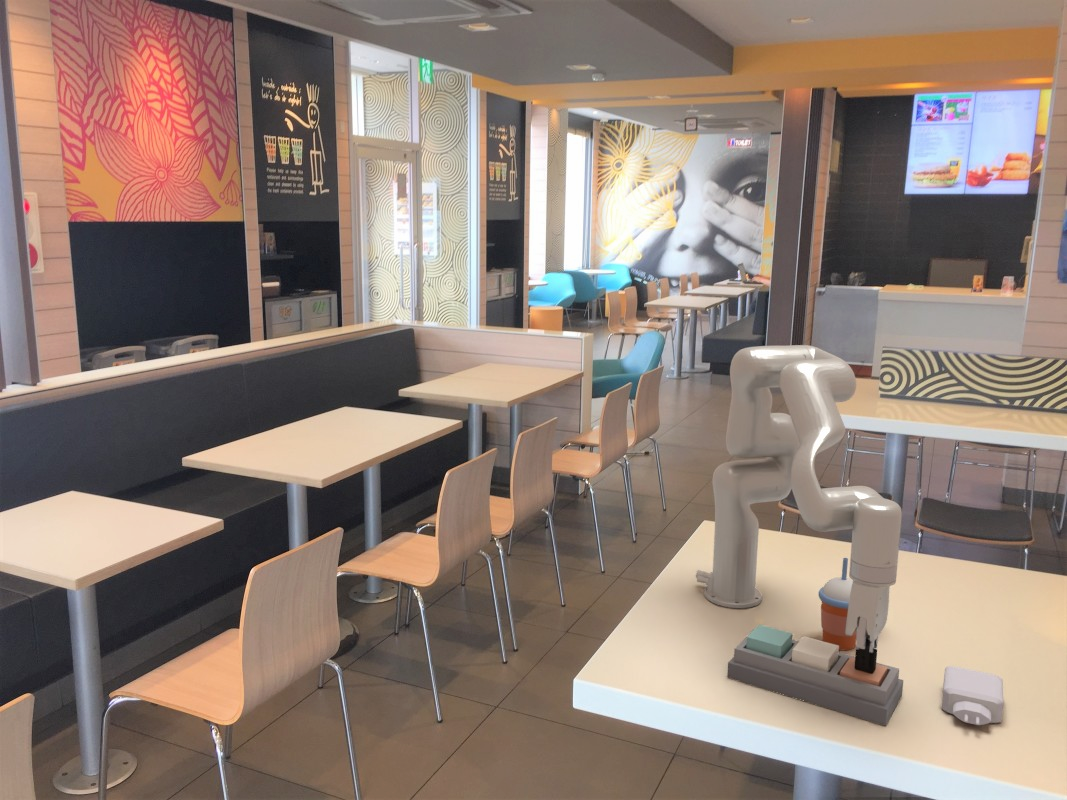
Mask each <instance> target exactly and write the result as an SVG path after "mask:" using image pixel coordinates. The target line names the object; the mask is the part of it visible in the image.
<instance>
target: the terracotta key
mask: <svg viewBox="0 0 1067 800" xmlns="http://www.w3.org/2000/svg"><path fill="white" fill-rule="evenodd" d="M854 666H855V658H852V657H850V658H849V660H848V661H847V662H846V664H845V665H844V667H843V668H842V670H841V671H840V675H841V676H844V677H848V678H851V679H855V680H858V681H862V682H865V683H869V684H872V685H876V686H879V687H881V685H882V683H883V682H884V680H885V678H886V676H887V668H888V667H885V666H881V665H878V664H876V669H875V671H874V673H873V674H870V673H866V672H863V671H859V670H856V669H855V668H854Z"/></svg>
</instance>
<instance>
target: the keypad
mask: <svg viewBox="0 0 1067 800" xmlns="http://www.w3.org/2000/svg"><path fill="white" fill-rule="evenodd" d="M798 643H799V641H798V640H796V639H795V640H794V639H792V648H791V649H790V650H789V651H788V652H787V654H786V655H785V656H784V657H783V658H782V659H781V658H777V657H774V656H770V655H767V654H763V653H759V652H756V651H752V650H749V649H746V645H747V636H745V637H744V638H743V640H741V641H740V643H739V644H737V645H736V646H735V648H734V649H733V650H734V651H733V652H734V653H733V656H732V658H731V659H730V660H729V661H728V662H727V672H726V674H727V676H726V678H727V677H728V678H727V679H731V680H733V679H734V681H737V682H741V683H743V682H744V683H743V684H747V685H751V686H753V687H755V688H760V689H764V690H766V689H767V690H766V691H769V690H770V691H769V692H773V691H774V693H776V692H778V693H777V694H779V693H781V694H780V695H782V694H784V695H783V696H786V695H787V697H789V696H790V697H789V698H792V697H794V698H793V699H795V698H797V699H796V700H799V699H801V700H800V701H802V700H804V701H803V702H805V701H807V702H806V703H808V702H809V703H808V704H811V705H815V704H816V705H815V706H818V705H819V707H821V706H823V707H822V708H825V707H826V708H825V709H828V708H829V709H828V710H831V709H833V710H832V711H835V710H836V712H838V711H839V712H838V713H841V712H842V713H841V714H844V713H845V715H848V716H850V717H854V718H857V717H858V718H857V719H862V720H864V721H867V720H868V722H870V721H871V723H875V724H877V725H881V726H884V727H886V726H887V724H888V723H889V720H890V718H891V717H892V715H893V713H894V711H895V710H896V708H897V706H898V705H899V702H900V700H901V699H902V696H903V691H904V689H903V688H904V679H900V678H899V677H900V676H899V675H900V668H899V667H894V666H891V665H887V664H885V663H880V662H876V664H878V665H881V666H885V667H888V668H887V676H886V678H885V680H884V682H883V683H882V685H881V687H879V686H876V685H872V684H869V683H865V682H862V681H858V680H855V679H851V678H848V677H844V676H841V675H840V671H841V670H842V668H843V667H844V665H845V664H846V662H847V661H848V660H849V658H850V657H852V658H855V656H853V655H850V654H846V653H842V652H839V653H838V662H837V663H836V664H835V666H834V667H833V668H832V670H831V671H830V672H826V671H823V670H819V669H816V668H812V667H809V666H805V665H802V664H798V663H795V662H792V650H793V648H794V647H795V646H796V645H797V644H798Z"/></svg>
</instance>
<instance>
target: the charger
mask: <svg viewBox="0 0 1067 800" xmlns="http://www.w3.org/2000/svg"><path fill="white" fill-rule="evenodd" d="M1003 685H1004V682H1003V678H1002V677H1000V676H999V675H997V674H993V673H988V672H985V671H980V670H975V669H970V668H965V667H961V666H956V665H955V666H954V665H948V666H945V668H944V676H943V684H942V695H941V696H942V697H941V710H943V711H945V712H946V713H948V714H951V715H954V716H955V718H957V719H959V720H960V721H962V722H963V723H967V724H972V725H975V726H982V725H988V724H997V723H999V724H1000V723H1001V722H1002V720H1003V713H1004V686H1003Z"/></svg>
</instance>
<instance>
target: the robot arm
mask: <svg viewBox="0 0 1067 800" xmlns="http://www.w3.org/2000/svg"><path fill="white" fill-rule="evenodd" d="M729 377H730V384H731V400H730V405H729V413H728V420H727V427H726V433H725V447H726V450H727V452H728V453H729V455H730V456H732V457H734V458H739V459H741V460H739V459H738V460H731V461H727V462H726V461H725V462H723V463H721V464H719V465H718V466H716V468H715V469H714V471H713V473H712V483H711V484H712V490H713V497H714V514H715V515H714V536H713V537H714V538H713V540H714V541H713V556H712V557H713V558H712V559H713V560H712V571H711V572H707V571H704V570H703V571H702V570H700V569H698V570H697V571H696V573H695V578H696V582H697V583H700V584H705V586H706V587H705V588H704V597H705V598H706V599H707V601H709V602H711V603H713V604H715V605H718V606H722V607H725V608H731V609H748V608H752V607H755V606H757V605H760V603H762V600H763V599H762V598H763V595H762V592H761V591H760V590H759V589H758V588H757V587H756V583H757V582H756V580H757V563H758V561H757V560H758V547H759V546H758V545H759V533H760V531H759V529H760V526H759V525H760V523H759V520H758V517H757V516H756V514H755V513H754V512H753V510H752V509H751V508H752V507H751V505H752V504H757V503H768V502H777V501H778V502H779V501H782V500H783V499H786V498H787V497H788V496H789V495H790V493H791V491H792V493H793V497H794V500H795V503H796V506H797V509H798V511H799V514H800V516H801V518H802V520H803V522H804V523H805V524H806V526H808V528H810V529H811V530H813V531H816V532H823V533H824V532H833V531H834V532H835V531H846V530H852V531H851V533H852V535H851V546H850V559H849V571H848V572H849V573H848V576H849V577H848V578H849V579H851V580H853V583H852V587H851V592H850V598H849V605H848V613H847V621H846V630H845V633H846V635H847V636H852V634H853V633H854V632H855V630H856V629H857V637H856V644H855V654H854V655H855V656H854V657H855V666H854V668H855V669H856V670H859V671H863V672H866V673H870V674H873V673H874V671H875V669H876V663H877V658H878V657H877V656H878V644H879V636H880V634H881V633H882V631H883V630H884V628H885V626H886V624H887V622H888V621H887V620H888V616H889V615H888V614H889V603H890V589H891V588H890V587H891V586H894V585H895V584H896V583H897V574H898V564H899V551H900V549H899V548H900V541H901V540H900V539H901V538H900V537H901V530H902V529H901V527H902V517H903V514H902V513H903V512H902V511H903V510H902V507H901V506H900V505H899V504H898V503H897V502H896V501H894V500H891V499H888V498H884V497H883V496H882V495H880V494H879V492H877V491H876V490H875V489H873V488H872V487H869V486H865V485H852V486H837V487H826V488H825V487H824V488H823V487H821V485H820V483H819V480H818V478H817V475H816V470H815V461H816V456H817V455H819V453H821V452H824V451H826V450H827V449H830V448H831V447H833V446H835V444H838V443H839V442H840V441H841V440H842V439H843V438H844V436H845V434H846V426H845V424H844V422H843V419H842V415H841V414H840V411H839V409H838V406H837V403H844V402H847V401H849V400H850V399H851V398H853V396H854V395H855V393H856V389H857V378H856V375H855V373H854V371H853V368H852V367H851V366H850V365H849V363H847V362H846V361H845V360H844V359H842V358H841V357H839V356H836V355H834V354H832V353H830V352H827V351H825V350H823V349H821V348H820V347H816V346H813V345H807V344H800V345H798V344H795V345H790V344H789V345H760V346H759V345H758V346H749V347H744V348H742V349H739V350H738V351H737V352H736V353H735V354H734V355H733V357H732V359H731V362H730V367H729ZM771 388H779V389H780V391H781V394H782V397H783V399H784V402H785V405H786V407H787V411H788V413H789V414H787V413H784V412H771V411H772V407H773V395H772V392H771V390H770V389H771Z"/></svg>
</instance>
